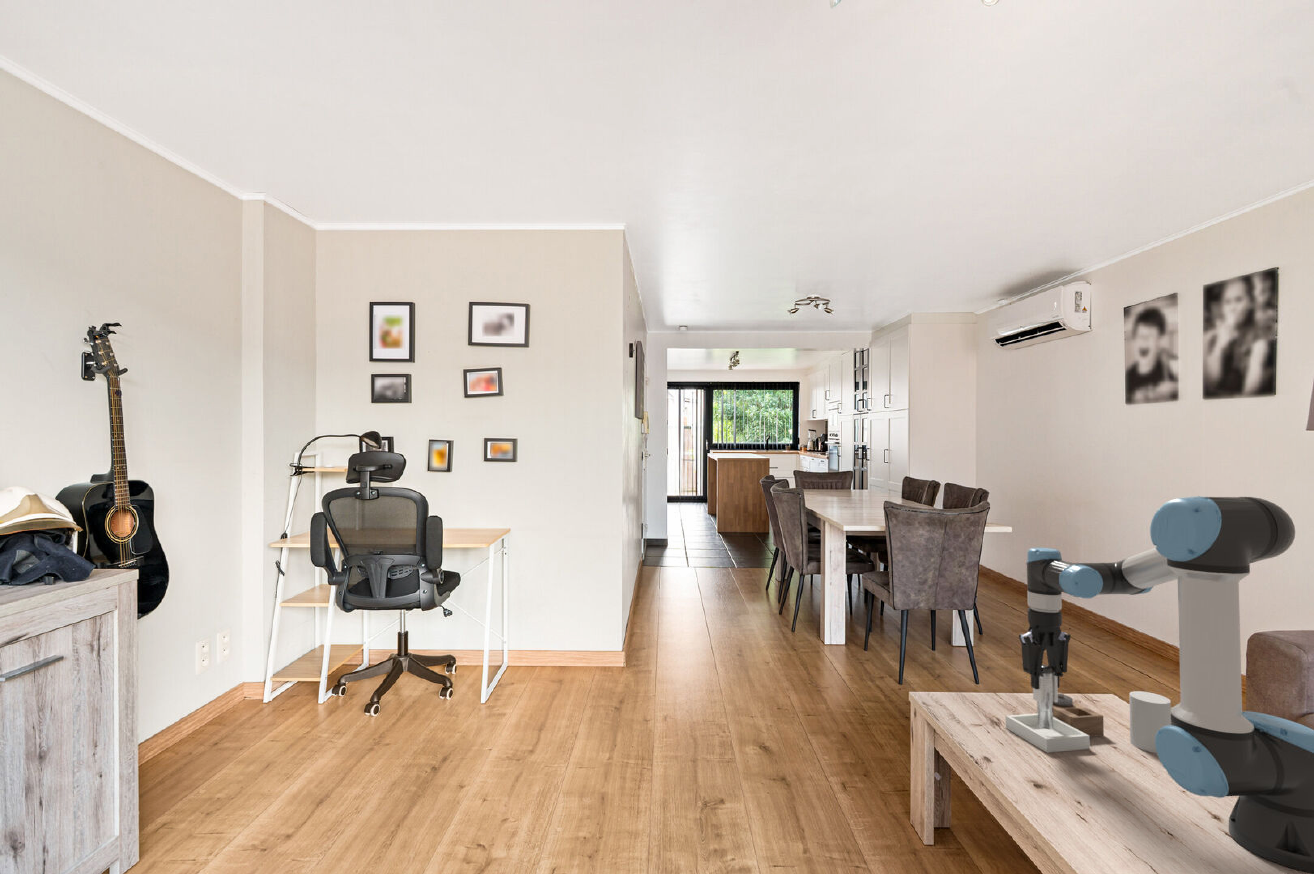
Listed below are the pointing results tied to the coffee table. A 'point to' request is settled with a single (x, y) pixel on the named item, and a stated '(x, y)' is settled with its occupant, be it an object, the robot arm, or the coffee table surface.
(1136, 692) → the white cylinder
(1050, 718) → the pin
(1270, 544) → the robot arm
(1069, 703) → the block
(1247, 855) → the coffee table surface
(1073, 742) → the tray
